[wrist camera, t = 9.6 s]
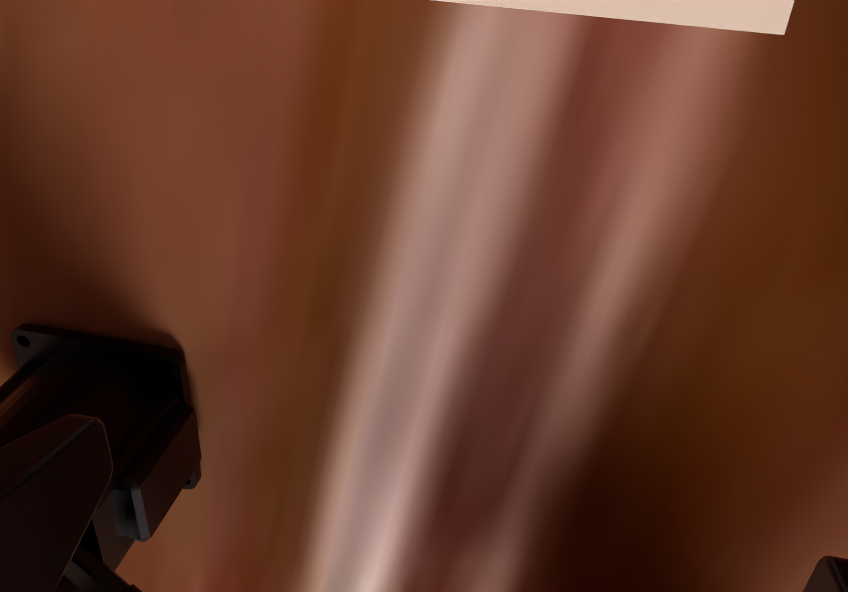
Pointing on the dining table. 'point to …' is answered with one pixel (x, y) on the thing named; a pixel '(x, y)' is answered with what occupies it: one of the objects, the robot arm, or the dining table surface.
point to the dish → (669, 11)
